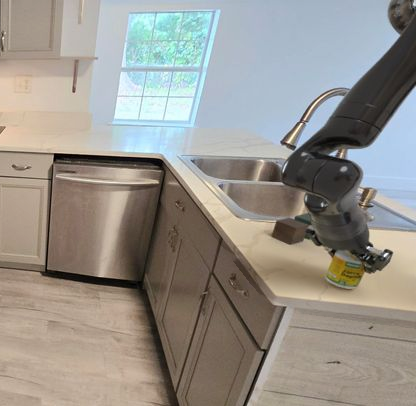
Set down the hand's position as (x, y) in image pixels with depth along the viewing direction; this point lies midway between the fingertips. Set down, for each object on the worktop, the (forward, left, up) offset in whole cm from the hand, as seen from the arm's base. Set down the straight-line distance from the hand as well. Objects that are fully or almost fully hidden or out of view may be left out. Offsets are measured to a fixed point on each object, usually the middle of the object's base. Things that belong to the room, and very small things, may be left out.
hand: (353, 262), depth 80 cm
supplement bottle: (0, +2, -5) cm, 5 cm away
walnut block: (+18, -9, -5) cm, 21 cm away
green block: (+18, -17, -5) cm, 25 cm away
